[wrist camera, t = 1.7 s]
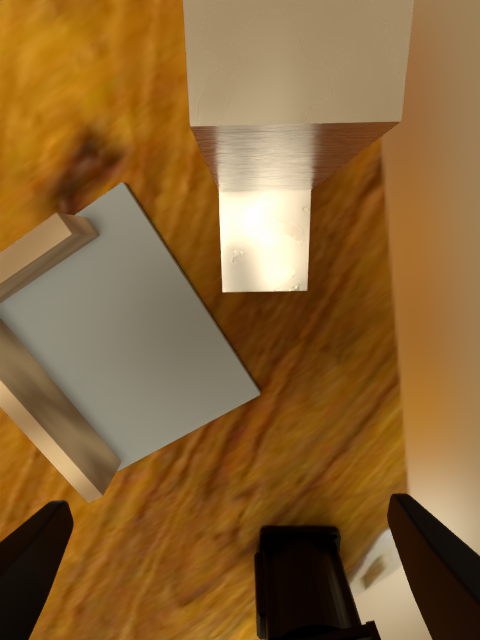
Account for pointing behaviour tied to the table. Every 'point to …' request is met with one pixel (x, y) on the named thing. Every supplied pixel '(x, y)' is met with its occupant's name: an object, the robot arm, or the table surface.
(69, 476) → the board walls
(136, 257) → the slate board
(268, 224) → the bracket
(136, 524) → the table surface
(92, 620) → the table surface
